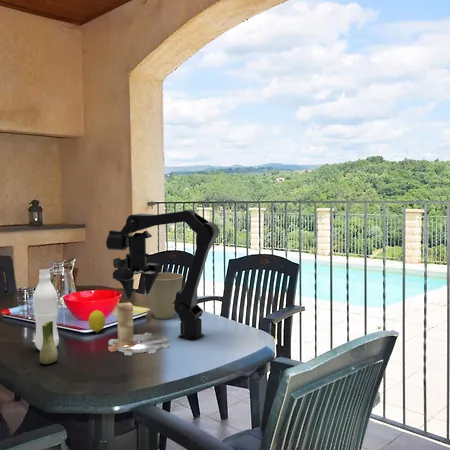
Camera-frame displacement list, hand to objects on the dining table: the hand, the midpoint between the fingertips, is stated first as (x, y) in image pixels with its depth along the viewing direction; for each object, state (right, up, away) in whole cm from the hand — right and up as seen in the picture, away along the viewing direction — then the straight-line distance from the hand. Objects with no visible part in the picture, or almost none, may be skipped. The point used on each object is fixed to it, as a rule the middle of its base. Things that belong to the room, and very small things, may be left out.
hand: (138, 296), depth 180 cm
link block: (-2, -13, -15) cm, 20 cm away
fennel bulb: (-21, -16, -28) cm, 38 cm away
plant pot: (+6, -11, +23) cm, 27 cm away
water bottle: (-26, -15, -15) cm, 34 cm away
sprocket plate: (+2, -14, -12) cm, 19 cm away
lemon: (-15, -13, +2) cm, 20 cm away
